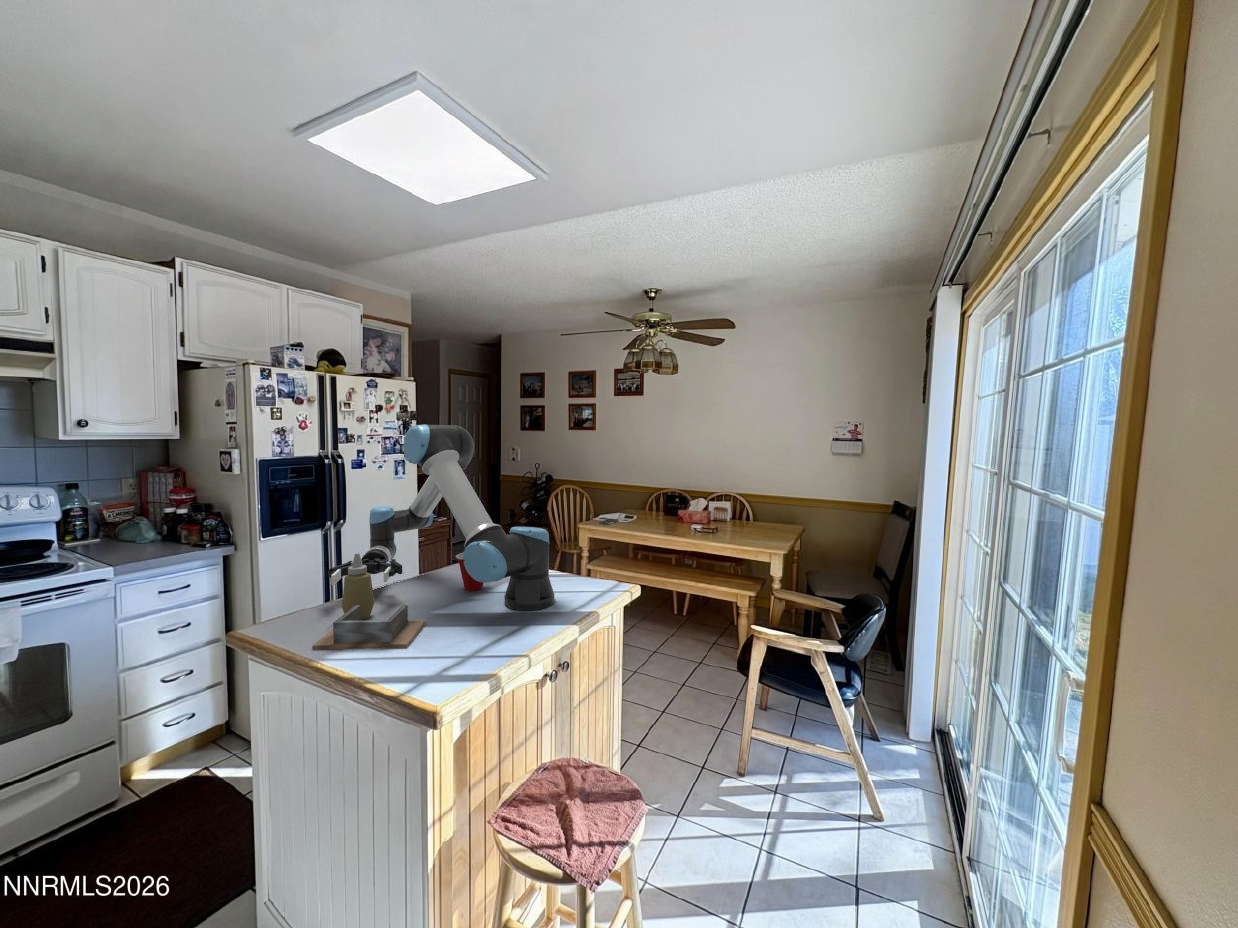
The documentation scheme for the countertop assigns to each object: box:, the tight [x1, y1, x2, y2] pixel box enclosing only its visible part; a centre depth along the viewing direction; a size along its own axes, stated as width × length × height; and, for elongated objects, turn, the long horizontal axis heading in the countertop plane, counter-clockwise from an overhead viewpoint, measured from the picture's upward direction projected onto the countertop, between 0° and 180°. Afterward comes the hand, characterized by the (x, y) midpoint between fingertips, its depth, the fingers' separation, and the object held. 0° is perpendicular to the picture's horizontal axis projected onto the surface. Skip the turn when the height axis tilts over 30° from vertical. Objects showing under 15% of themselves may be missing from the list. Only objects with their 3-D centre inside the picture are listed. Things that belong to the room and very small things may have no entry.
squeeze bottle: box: [341, 553, 375, 620], centre depth 141 cm, size 8×8×18 cm
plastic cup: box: [455, 552, 484, 592], centre depth 168 cm, size 11×11×12 cm
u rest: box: [311, 604, 427, 650], centre depth 129 cm, size 22×15×6 cm
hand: (359, 578), depth 145 cm, fingers open, 13 cm apart
